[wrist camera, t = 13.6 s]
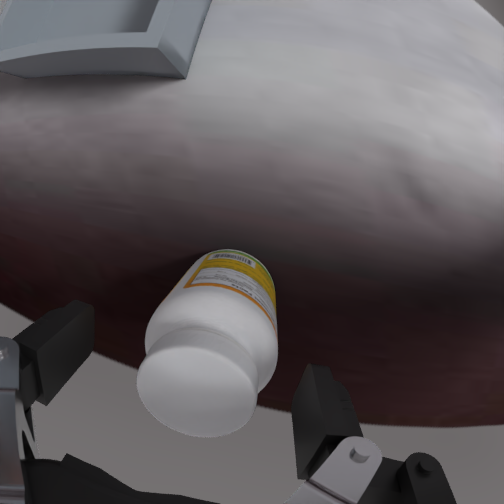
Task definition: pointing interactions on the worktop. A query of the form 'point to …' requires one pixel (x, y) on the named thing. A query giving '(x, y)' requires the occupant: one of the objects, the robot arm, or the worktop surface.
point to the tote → (100, 37)
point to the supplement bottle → (211, 346)
